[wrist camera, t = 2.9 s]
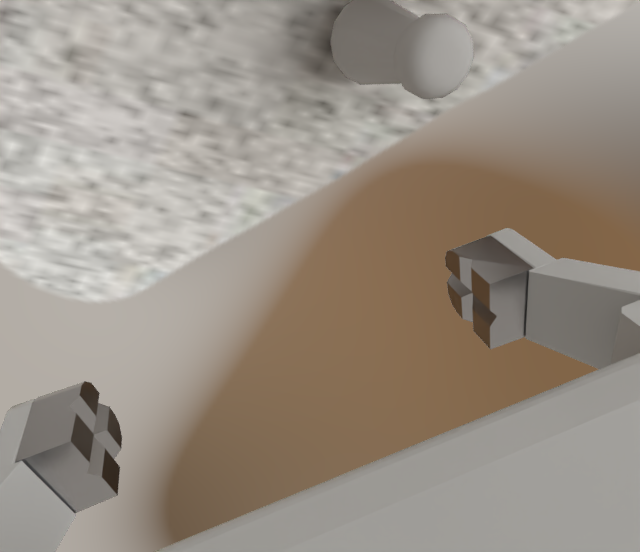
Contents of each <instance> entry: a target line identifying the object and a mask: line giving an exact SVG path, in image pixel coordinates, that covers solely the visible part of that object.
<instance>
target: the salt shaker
mask: <svg viewBox="0 0 640 552" xmlns="http://www.w3.org/2000/svg"><path fill="white" fill-rule="evenodd" d="M330 43H331V48H332V54H333V59H334V62H335V63H336V65H337V66H338V67H339V69H340V70H341V71H342V73H343V74H344V75H345V77H347V78H349V79H351V80H353V81H354V82H356V83H358V84H360V85H365V84H398V83H401V84H402V86H403V87H404V88H405V89H406V90H407V91H409V92H411V93H412V94H414V95H416V96H418V97H420V98H422V99H433V98H443V97H445V96H446V95H448V94H450V93H452V92H453V91H455V90H457V89H458V87H459V86H460V85H461V83H462V82H463V81H464V79H465V78H466V77H467V75H468V73H469V70H470V67H471V64H472V61H473V58H474V52H473V39H472V37H471V35H470V32H469V30H468V28H467V26H466V25H465V24H464V23H462V22H460V21H459V20H457V19H455V18H454V17H452V16H450V15H448V14H424V15H423V16H421V17H418V16H417V15H415V14H413V13H411V12H410V11H408V10H406V9H405V8H403V7H401V6H400V5H398V4H396V3H395V2H393V1H391V0H353V1H352V2H350V3H348V4H347V5H345V6H344V8H343V9H342V11H341V12H340V14H339V15H338V17H337V18H336V20H335V21H334V24H333V30H332V36H331V42H330Z"/></svg>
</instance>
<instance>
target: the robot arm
mask: <svg viewBox="0 0 640 552" xmlns="http://www.w3.org/2000/svg"><path fill="white" fill-rule="evenodd" d="M445 261H446V267H447V268H448V269H449V270H450V271H451V272H452V274H451V276H450V278H449V279H448V282H447V286H448V294H449V297H450V300H451V303H452V305H453V307H454V308H455V310H456V312H457V313H458V314H459V315H460V316H461V318H462V319H465V320H468V321H471V322H473V329H474V332H475V333H476V334H477V335H478V336H479V337H480V339H482V341H483V342H484V343H485V344H486V345H487V346H488V347H489V348H490V349H493V348H495V347H498V346H501V345H504V344H506V343H509V342H512V341H515V340H517V339H520V338H523V337H526V339H528V340H530V341H533V342H535V343H538V344H540V345H542V346H545V347H547V348H550V349H552V350H554V351H557V352H559V353H562V354H564V355H566V356H569V357H571V358H574V359H576V360H579V361H581V362H583V363H586V364H588V365H591V366H593V367H596V368H598V369H599V370H597V371H595V372H592V373H589V374H587V375H584V376H582V377H580V378H577V379H575V380H573V381H570V382H567V383H565V384H563V385H560V386H558V387H555V388H553V389H550V390H548V391H545V392H543V393H541V394H538V395H536V396H533V397H531V398H528V399H526V400H523V401H521V402H519V403H516V404H514V405H511V406H509V407H506V408H504V409H501V410H499V411H497V412H494V413H492V414H489V415H487V416H484V417H482V418H479V419H477V420H475V421H472V422H470V423H467V424H465V425H462V426H460V427H457V428H455V429H453V430H451V431H448V432H445V433H443V434H440V435H438V436H436V437H433V438H431V439H428V440H426V441H423V442H421V443H419V444H416V445H413V446H411V447H409V448H406V449H404V450H401V451H399V452H396V453H394V454H392V455H389V456H387V457H384V458H382V459H379V460H377V461H374V462H372V463H369V464H367V465H365V466H362V467H360V468H357V469H355V470H352V471H350V472H348V473H345V474H343V475H340V476H338V477H335V478H333V479H330V480H328V481H326V482H323V483H321V484H318V485H316V486H313V487H311V488H308V489H306V490H304V491H301V492H299V493H296V494H294V495H292V496H289V497H286V498H284V499H282V500H279V501H277V502H274V503H272V504H269V505H267V506H265V507H262V508H260V509H257V510H255V511H253V512H250V513H248V514H245V515H243V516H240V517H238V518H235V519H233V520H230V521H228V522H226V523H223V524H221V525H218V526H216V527H213V528H211V529H208V530H206V531H204V532H201V533H199V534H196V535H194V536H191V537H189V538H186V539H184V540H182V541H179V542H177V543H174V544H172V545H169V546H167V547H164V548H162V549H160V550H157V551H155V552H640V272H638V271H633V270H627V269H622V268H616V267H611V266H605V265H599V264H594V263H588V262H583V261H577V260H572V259H566V258H561V259H559V260H556V259H554V258H553V257H551V256H550V255H549V254H547V253H546V252H544V251H543V250H542V249H540V248H539V247H537V246H536V245H534V244H532V243H531V242H530V241H529V240H527V239H526V238H524V237H523V236H521V235H520V234H518V233H517V232H516V231H514V230H512V229H509V228H506V229H503V230H500V231H498V232H495V233H493V234H490V235H488V236H486V237H485V238H482V239H479V240H476V241H473V242H471V243H468V244H465V245H462V246H460V247H457V248H455V249H452V250H449V251H447V252H446V257H445ZM98 399H99V392H98V391H97V390H96V388H95V387H94V386H93V385H92V383H90V382H82V383H79V384H76V385H73V386H70V387H67V388H64V389H61V390H58V391H55V392H52V393H49V394H46V395H44V396H40V397H38V398H36V399H32V400H30V401H27V402H24V403H21V404H18V405H15V406H13V407H12V408H10V409H9V410H8V411H7V413H6V416H5V419H4V422H3V424H2V427H1V430H0V552H55V551H56V550H57V548H58V546H59V545H60V543H61V541H62V539H63V537H64V536H65V534H66V532H67V531H68V529H69V527H70V525H71V523H72V522H73V520H74V518H75V516H76V514H75V513H77V512H79V511H82V510H84V509H86V508H89V507H91V506H93V505H96V504H98V503H101V502H103V501H105V500H108V499H110V498H112V497H115V496H117V495H118V483H119V472H120V467H119V465H118V464H117V463H116V461H115V460H114V459H115V457H116V456H117V454H118V453H119V452H120V450H121V444H122V443H121V442H122V435H121V431H120V425H119V422H118V420H117V418H116V416H115V414H114V413H113V411H112V410H111V408H110V407H108V406H105V405H102V404H99V403H98Z"/></svg>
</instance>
